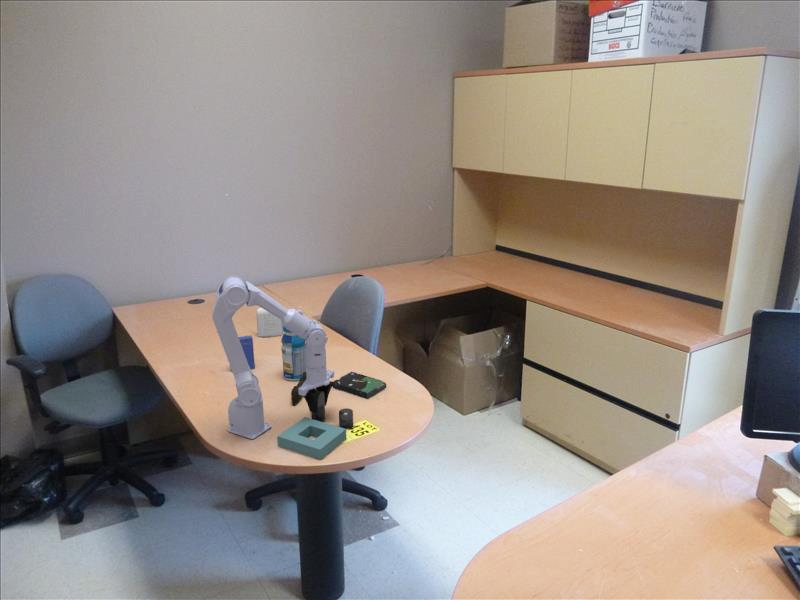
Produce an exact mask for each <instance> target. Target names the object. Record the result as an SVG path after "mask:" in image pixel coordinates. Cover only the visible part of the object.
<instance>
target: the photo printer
mask: <svg viewBox="0 0 800 600" xmlns="http://www.w3.org/2000/svg"><path fill="white" fill-rule="evenodd" d="M256 327H257V328H256V330H257V331H256V332H257V336H258V337H259V338H262V337H263V338H264V337H282V336H283V334H284V331H283V326H282V323H281V319H279V318H278V317H276V316H274V315H273V314H271V313H269V312H268V311H266V310H264V309H263V308H261V307H259V308H257V311H256Z"/></svg>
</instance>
